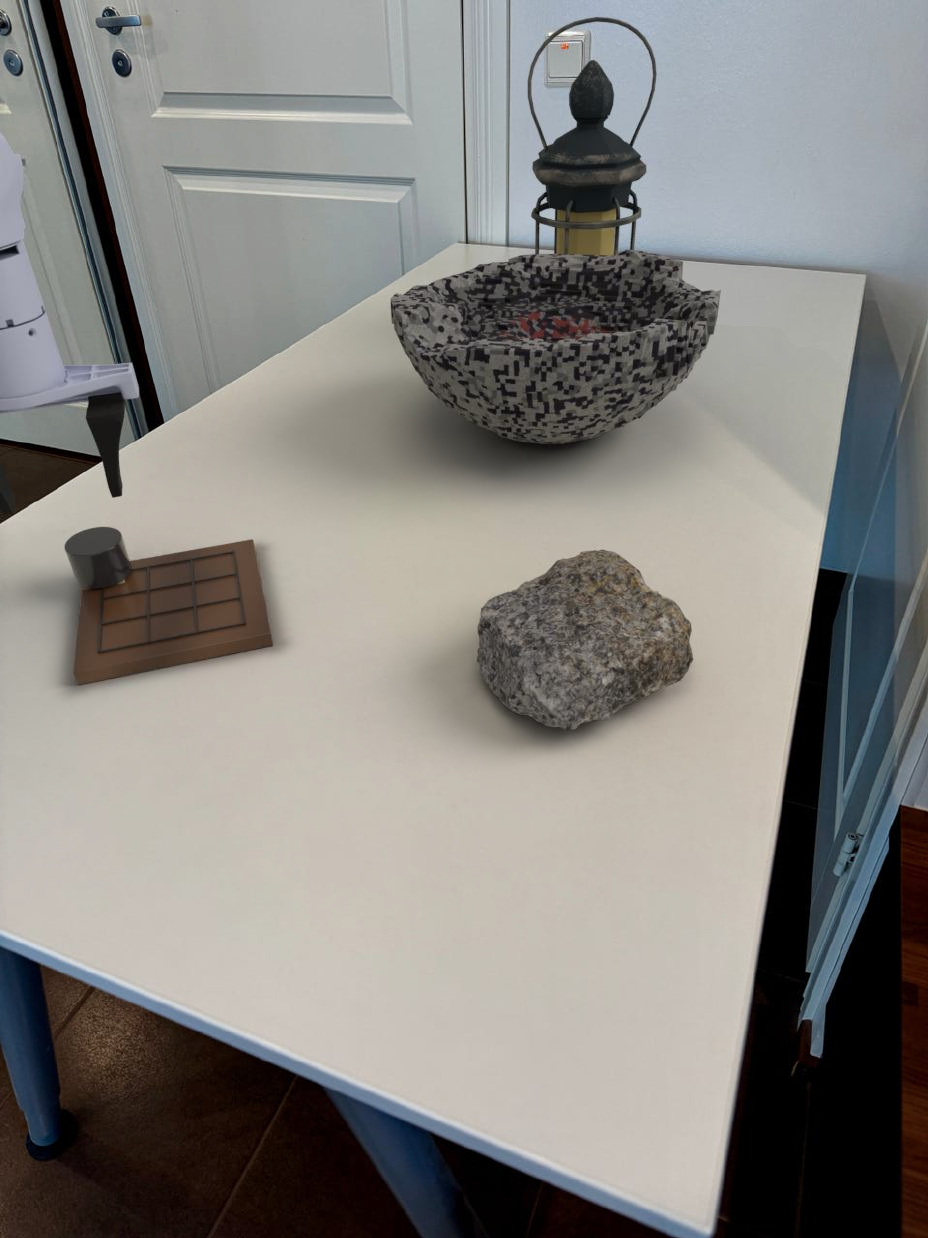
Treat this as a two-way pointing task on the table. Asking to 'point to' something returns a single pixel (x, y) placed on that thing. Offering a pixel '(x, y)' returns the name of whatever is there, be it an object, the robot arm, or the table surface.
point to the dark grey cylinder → (98, 557)
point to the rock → (581, 641)
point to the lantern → (588, 164)
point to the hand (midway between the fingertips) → (64, 499)
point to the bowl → (556, 341)
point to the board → (173, 613)
